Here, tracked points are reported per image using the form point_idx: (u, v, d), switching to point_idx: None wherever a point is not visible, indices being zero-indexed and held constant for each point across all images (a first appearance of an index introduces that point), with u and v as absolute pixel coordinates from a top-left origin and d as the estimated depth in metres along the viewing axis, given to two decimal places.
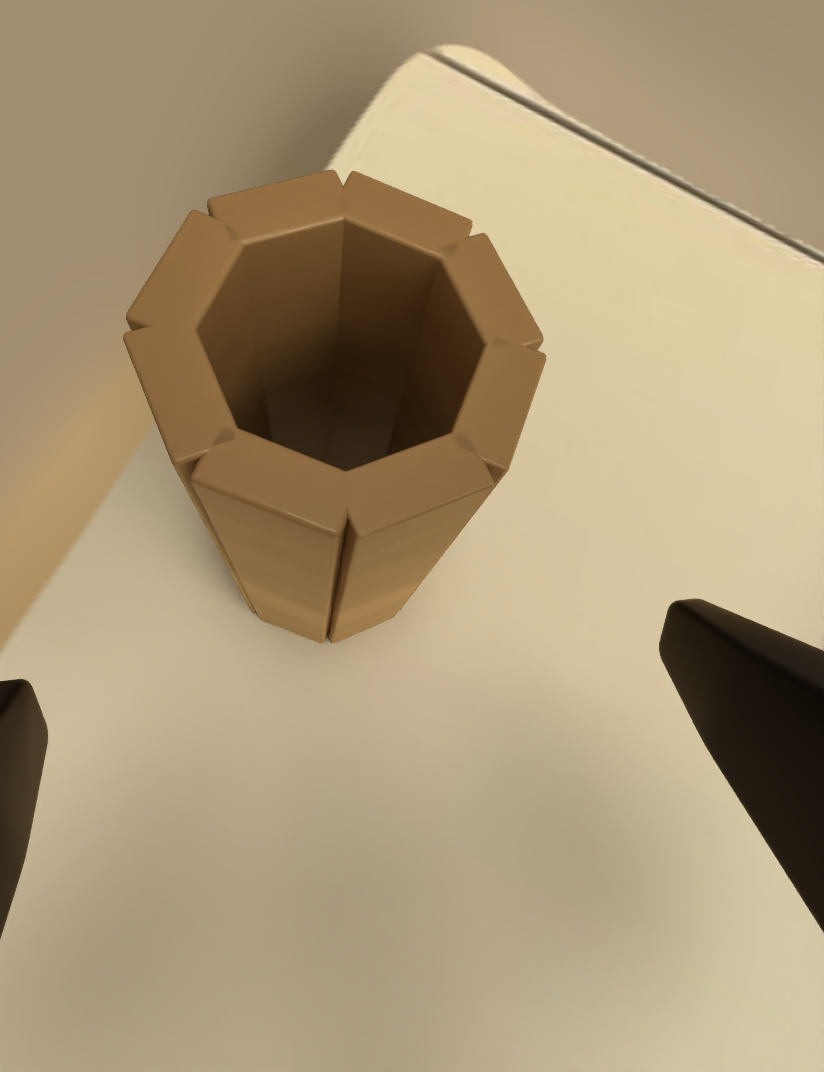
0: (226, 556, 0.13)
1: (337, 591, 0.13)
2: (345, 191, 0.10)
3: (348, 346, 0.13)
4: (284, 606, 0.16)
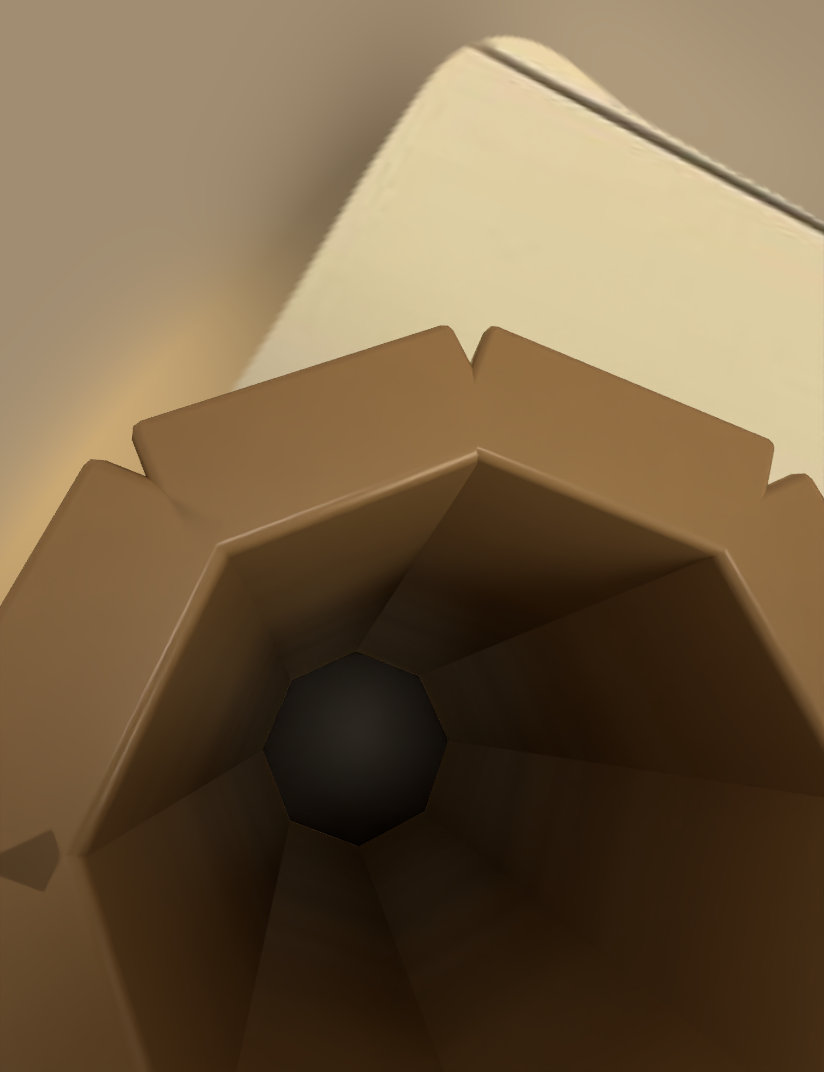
0: None
1: None
2: (478, 383, 0.04)
3: (427, 585, 0.07)
4: None
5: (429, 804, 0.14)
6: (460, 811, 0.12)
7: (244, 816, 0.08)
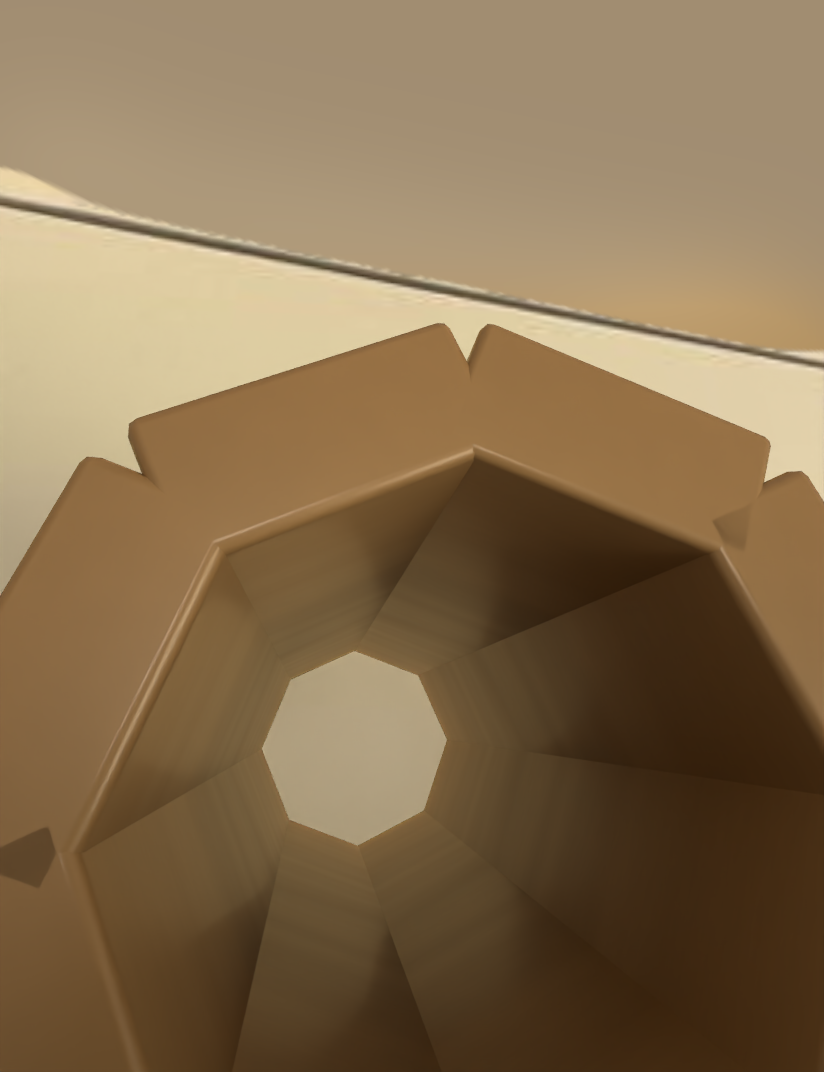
0: None
1: None
2: (473, 380, 0.04)
3: (425, 583, 0.07)
4: None
5: (428, 803, 0.14)
6: (459, 810, 0.12)
7: (242, 815, 0.08)
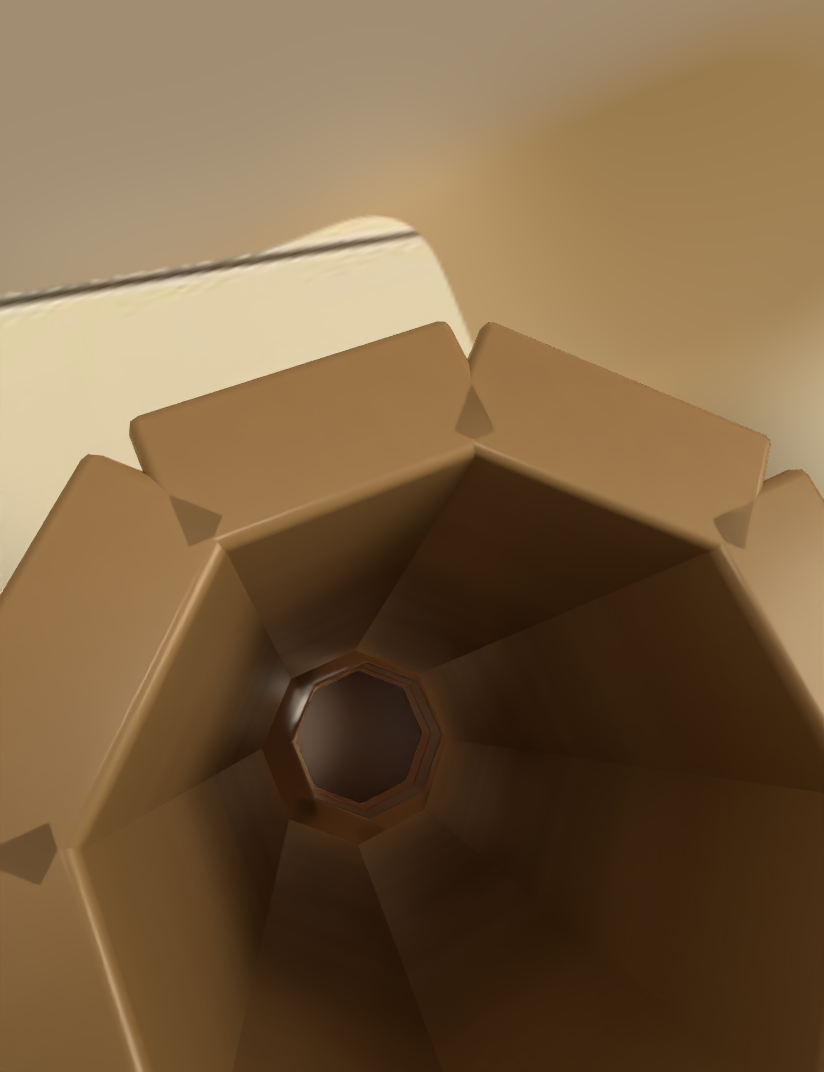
0: None
1: None
2: (475, 378, 0.04)
3: (425, 582, 0.07)
4: None
5: (428, 803, 0.14)
6: (459, 809, 0.12)
7: (243, 814, 0.08)
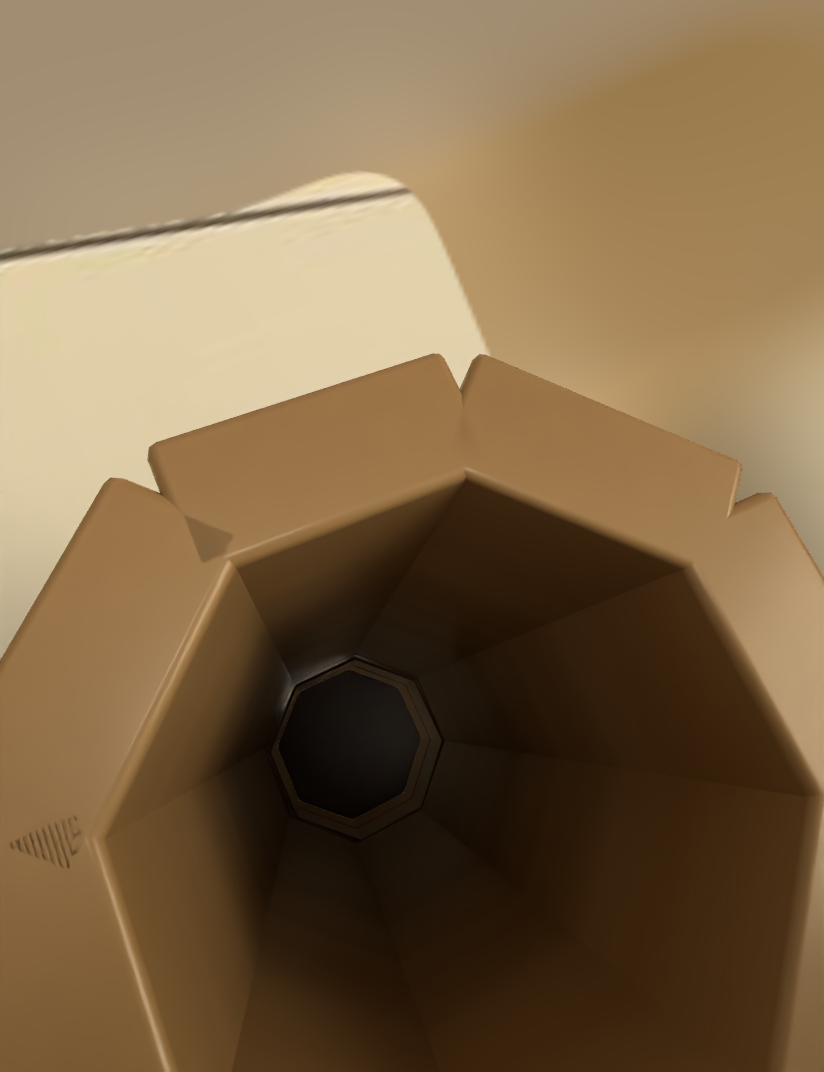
0: None
1: None
2: (467, 407, 0.04)
3: (422, 590, 0.08)
4: None
5: (425, 803, 0.15)
6: (455, 809, 0.12)
7: (245, 811, 0.09)
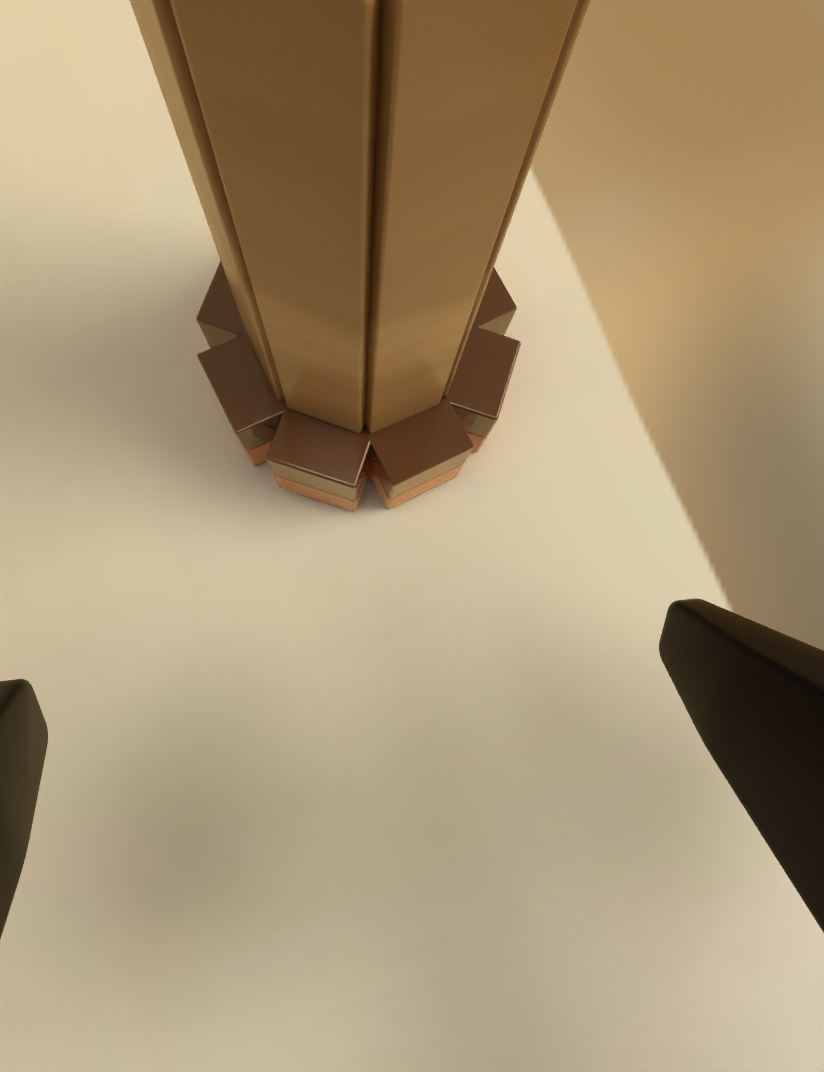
0: (233, 241, 0.11)
1: (373, 276, 0.10)
2: None
3: None
4: (311, 345, 0.13)
5: None
6: None
7: None
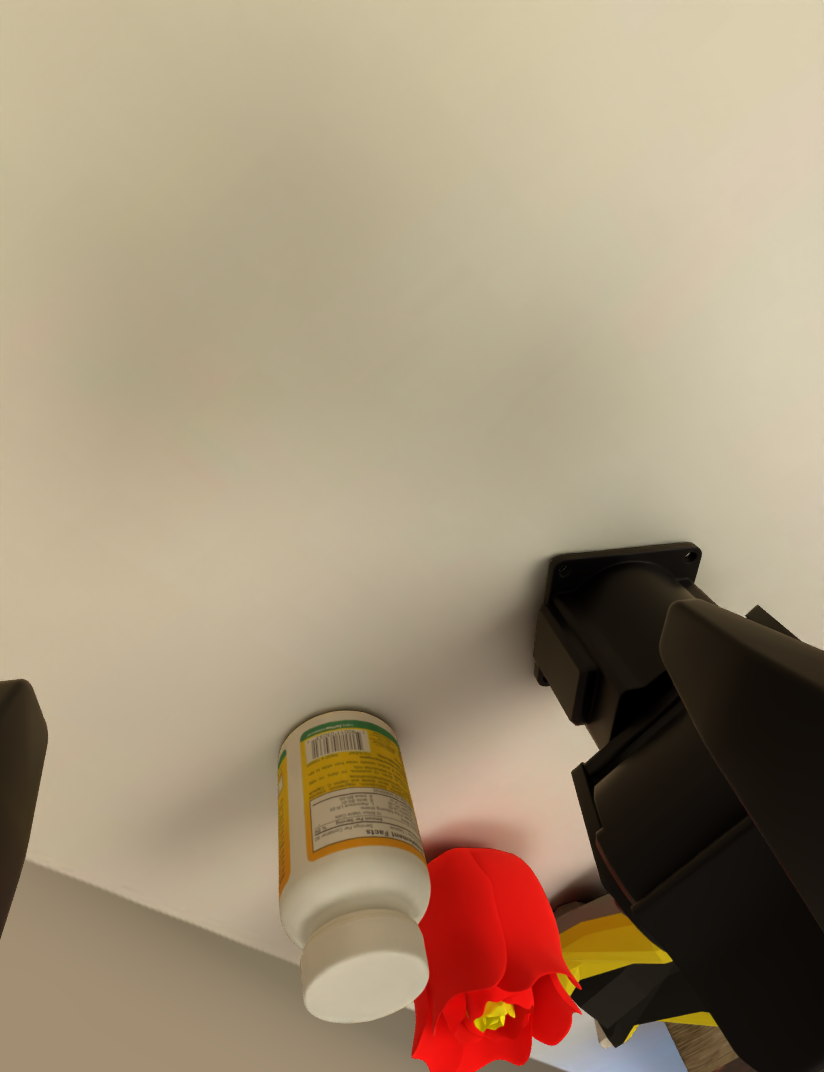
0: None
1: None
2: None
3: None
4: None
5: None
6: None
7: None
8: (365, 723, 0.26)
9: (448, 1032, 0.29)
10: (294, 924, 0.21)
